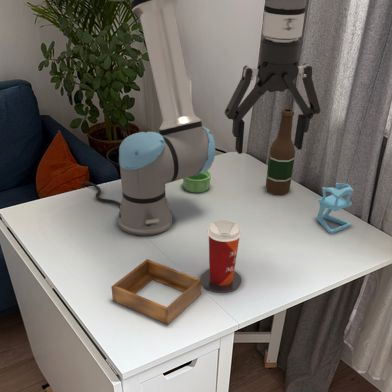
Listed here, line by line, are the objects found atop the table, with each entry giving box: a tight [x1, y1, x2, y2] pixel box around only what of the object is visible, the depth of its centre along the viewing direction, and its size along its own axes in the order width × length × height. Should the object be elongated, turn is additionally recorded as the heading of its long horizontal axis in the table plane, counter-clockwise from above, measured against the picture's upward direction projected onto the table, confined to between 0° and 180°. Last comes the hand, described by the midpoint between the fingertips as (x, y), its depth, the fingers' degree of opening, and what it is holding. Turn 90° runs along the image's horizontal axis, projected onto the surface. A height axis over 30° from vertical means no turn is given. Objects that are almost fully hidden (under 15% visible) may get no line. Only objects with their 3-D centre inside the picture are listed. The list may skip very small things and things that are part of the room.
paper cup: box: [206, 220, 242, 286], centre depth 119 cm, size 8×8×14 cm
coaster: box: [199, 268, 242, 294], centre depth 124 cm, size 10×10×1 cm
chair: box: [316, 182, 354, 235], centre depth 142 cm, size 8×8×12 cm
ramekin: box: [182, 169, 212, 193], centre depth 160 cm, size 9×9×4 cm
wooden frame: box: [110, 258, 202, 325], centre depth 118 cm, size 16×14×4 cm
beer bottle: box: [265, 108, 296, 196], centre depth 153 cm, size 8×8×24 cm
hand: (268, 149), depth 112 cm, fingers open, 13 cm apart
